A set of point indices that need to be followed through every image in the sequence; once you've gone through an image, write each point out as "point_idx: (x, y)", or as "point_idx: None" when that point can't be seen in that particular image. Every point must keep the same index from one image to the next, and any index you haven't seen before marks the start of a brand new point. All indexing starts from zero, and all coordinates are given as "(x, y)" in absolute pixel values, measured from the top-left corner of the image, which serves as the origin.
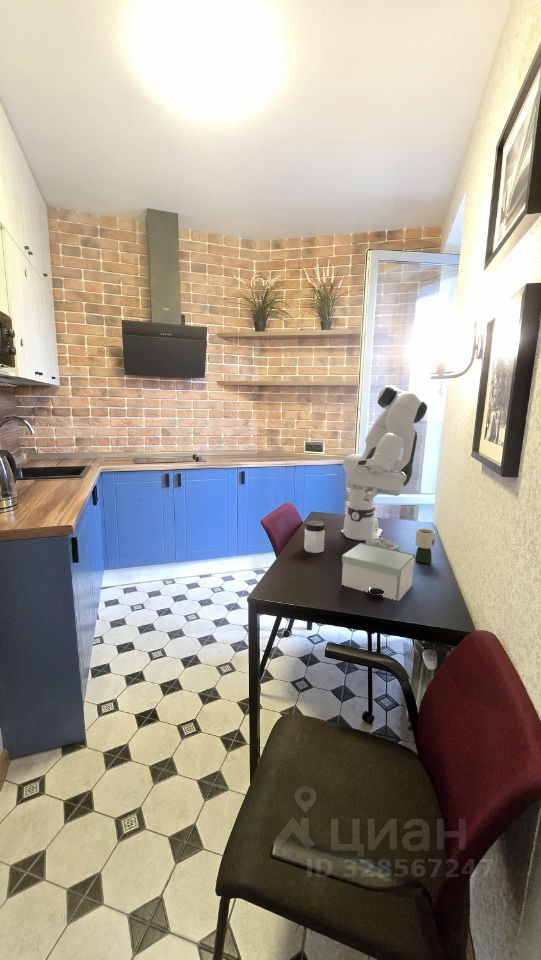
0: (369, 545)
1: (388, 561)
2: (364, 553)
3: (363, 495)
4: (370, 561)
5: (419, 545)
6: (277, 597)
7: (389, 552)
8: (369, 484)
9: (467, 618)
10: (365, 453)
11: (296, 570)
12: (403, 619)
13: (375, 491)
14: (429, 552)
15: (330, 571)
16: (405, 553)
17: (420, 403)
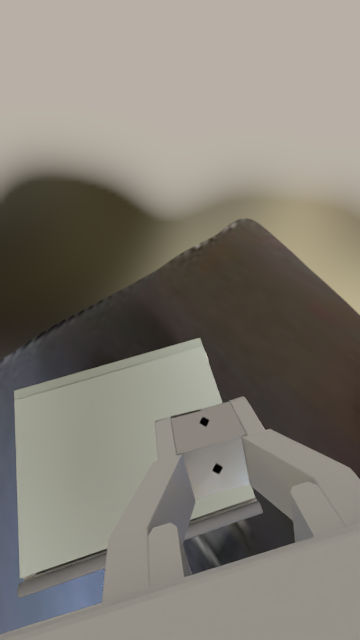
0: (216, 517)
1: (68, 420)
2: (166, 413)
3: (245, 411)
4: (110, 370)
5: None
6: (233, 241)
7: (110, 512)
8: (297, 588)
9: None
10: None
11: (331, 346)
12: (21, 358)
13: (116, 533)
14: None
15: (283, 417)
16: (57, 572)
17: None
